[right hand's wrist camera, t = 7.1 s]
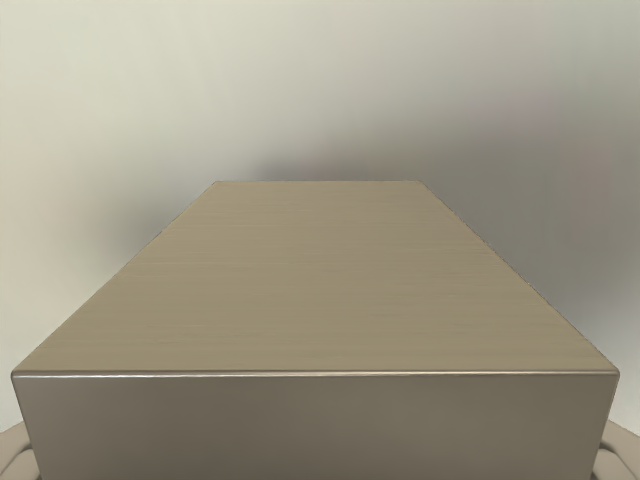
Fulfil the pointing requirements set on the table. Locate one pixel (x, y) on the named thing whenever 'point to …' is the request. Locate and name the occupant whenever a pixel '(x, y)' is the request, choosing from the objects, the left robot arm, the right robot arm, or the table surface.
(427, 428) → the box
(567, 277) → the table surface
